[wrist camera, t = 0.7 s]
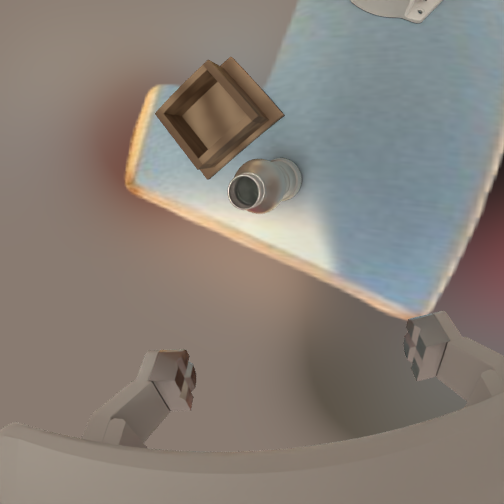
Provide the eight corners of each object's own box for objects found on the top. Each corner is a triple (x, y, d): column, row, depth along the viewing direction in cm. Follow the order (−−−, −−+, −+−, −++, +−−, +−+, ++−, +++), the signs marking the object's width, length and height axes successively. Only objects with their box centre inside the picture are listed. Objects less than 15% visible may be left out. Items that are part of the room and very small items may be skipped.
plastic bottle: (262, 194, 52) (211, 218, 34) (268, 154, 50) (218, 155, 32) (300, 202, 51) (268, 231, 33) (307, 161, 48) (279, 165, 30)
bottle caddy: (232, 58, 46) (216, 46, 40) (284, 115, 47) (274, 109, 41) (166, 122, 53) (143, 120, 47) (209, 178, 54) (190, 182, 48)
